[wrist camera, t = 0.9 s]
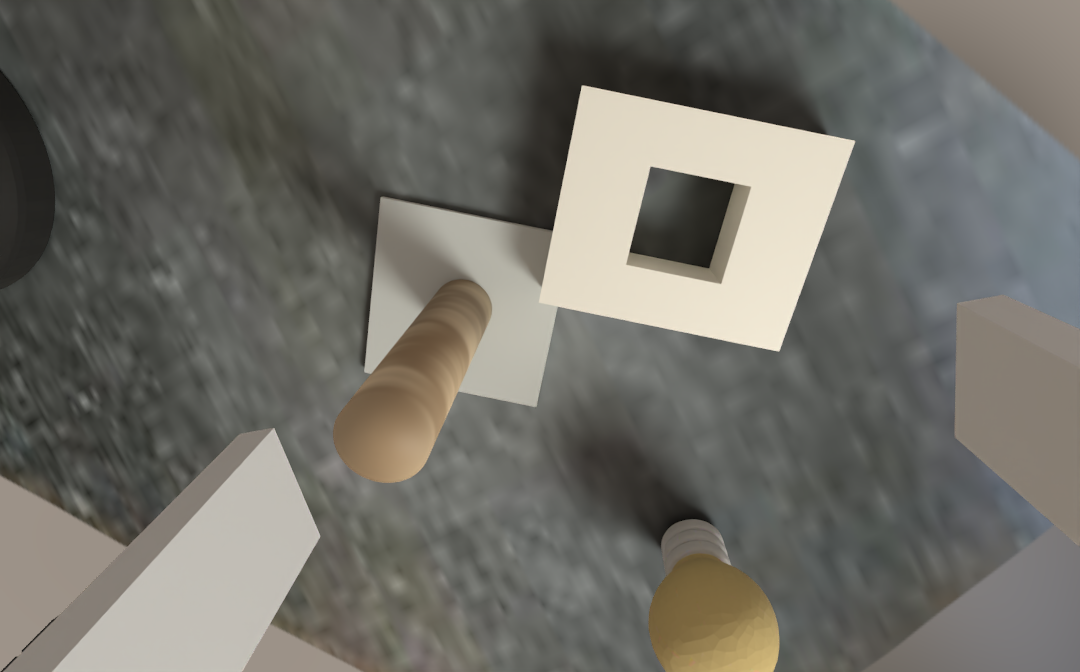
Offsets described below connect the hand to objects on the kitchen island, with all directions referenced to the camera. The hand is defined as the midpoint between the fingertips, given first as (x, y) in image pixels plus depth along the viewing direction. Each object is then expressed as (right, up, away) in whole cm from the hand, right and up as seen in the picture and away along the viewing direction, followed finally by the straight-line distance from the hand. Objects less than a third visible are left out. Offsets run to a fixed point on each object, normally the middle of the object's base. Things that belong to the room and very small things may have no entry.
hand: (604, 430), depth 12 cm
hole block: (+6, +8, +19) cm, 21 cm away
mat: (-5, +4, +21) cm, 22 cm away
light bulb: (+8, -11, +26) cm, 29 cm away
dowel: (-5, +3, +21) cm, 22 cm away
